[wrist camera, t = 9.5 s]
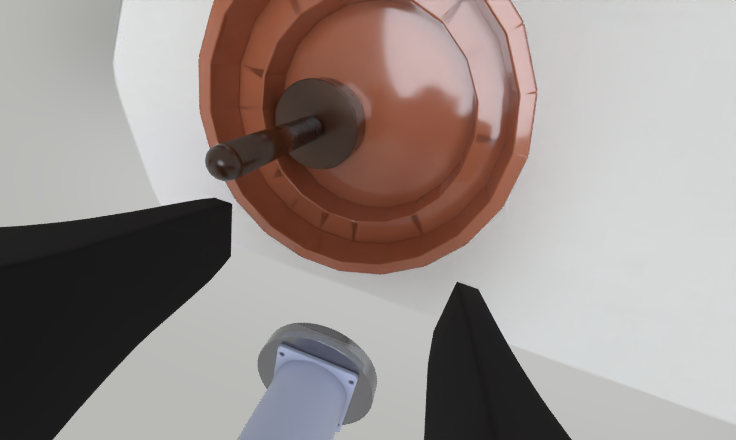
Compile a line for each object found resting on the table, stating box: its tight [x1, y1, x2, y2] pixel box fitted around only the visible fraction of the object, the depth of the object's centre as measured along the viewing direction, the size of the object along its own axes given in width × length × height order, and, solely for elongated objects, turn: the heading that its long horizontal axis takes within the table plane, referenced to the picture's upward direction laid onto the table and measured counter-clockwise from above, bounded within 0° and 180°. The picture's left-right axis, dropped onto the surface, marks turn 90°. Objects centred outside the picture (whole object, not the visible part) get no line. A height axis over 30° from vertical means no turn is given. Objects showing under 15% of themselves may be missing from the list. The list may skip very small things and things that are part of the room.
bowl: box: [199, 0, 537, 274], centre depth 15 cm, size 14×14×5 cm
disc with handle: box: [205, 78, 365, 181], centre depth 14 cm, size 5×5×9 cm
